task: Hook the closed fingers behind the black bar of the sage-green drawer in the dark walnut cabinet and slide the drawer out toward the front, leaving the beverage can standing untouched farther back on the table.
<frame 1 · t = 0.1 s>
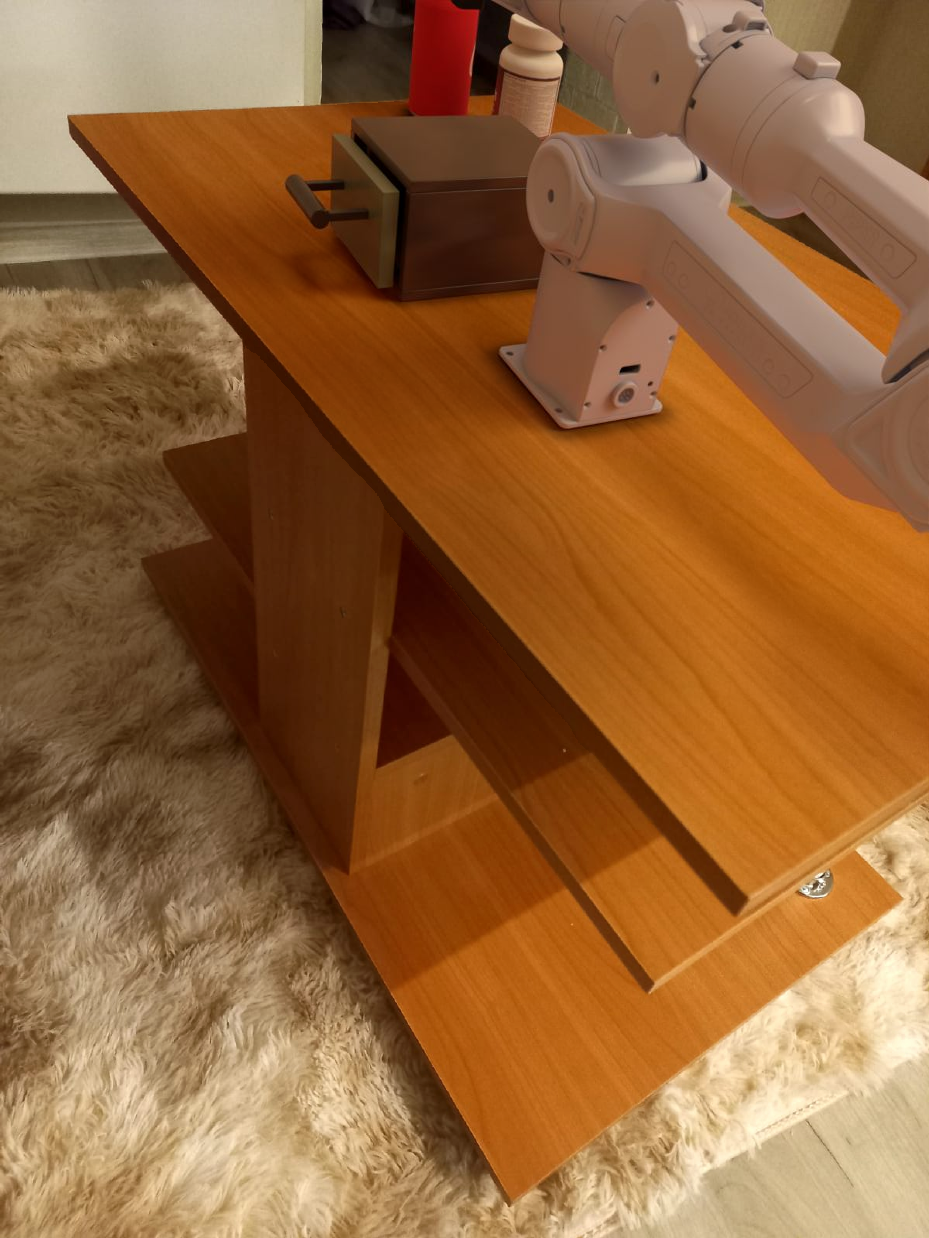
cabinet: (451, 258, 70), on the table
pill bottle: (516, 152, 89), on the table
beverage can: (436, 120, 92), on the table
drawer: (405, 207, 65), point 4 cm above the table, slide at 0.5 cm
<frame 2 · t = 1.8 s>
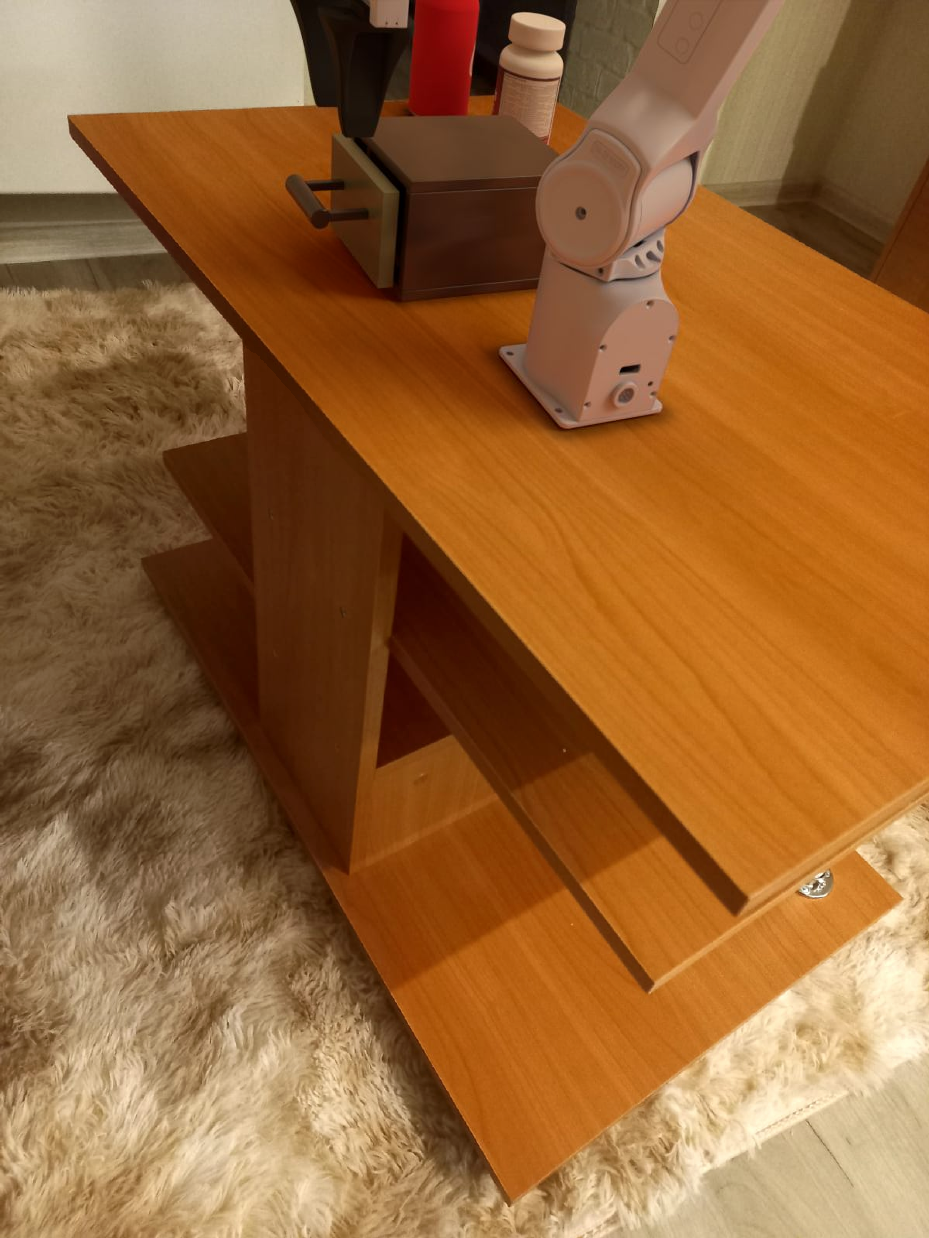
hand: (343, 120, 59), 10 cm above the table, tool pointing down, fingers open, 5 cm apart
nothing on the table moved.
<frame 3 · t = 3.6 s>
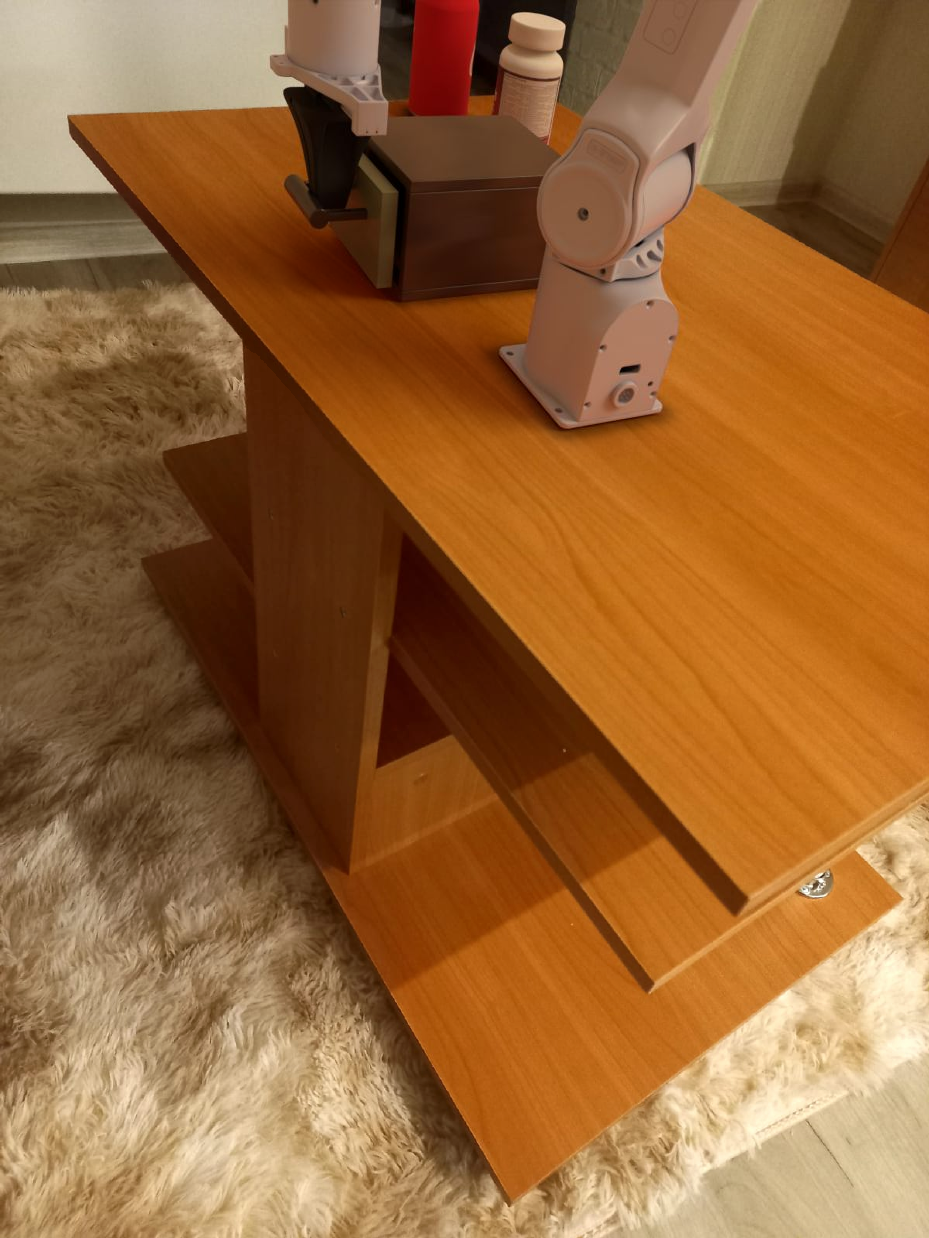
hand: (329, 205, 63), 5 cm above the table, tool pointing down, fingers closed, pressing on drawer
drawer: (404, 207, 65), point 4 cm above the table, slide at 0.6 cm, touching gripper
everything else where it was.
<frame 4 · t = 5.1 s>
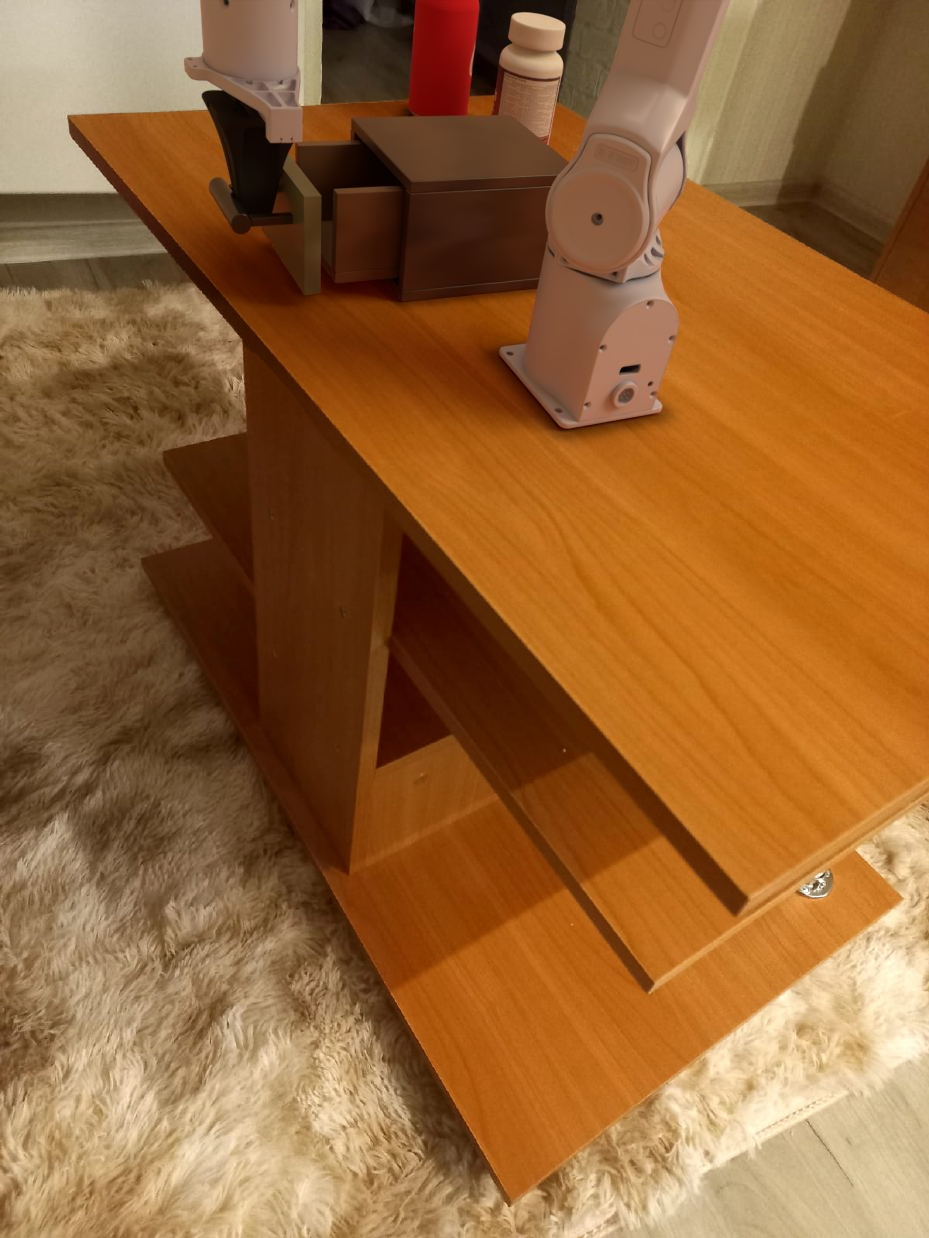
hand: (254, 212, 61), 4 cm above the table, tool pointing down, fingers closed, pressing on drawer
drawer: (335, 211, 63), point 4 cm above the table, slide at 6.0 cm, touching gripper
everything else where it was.
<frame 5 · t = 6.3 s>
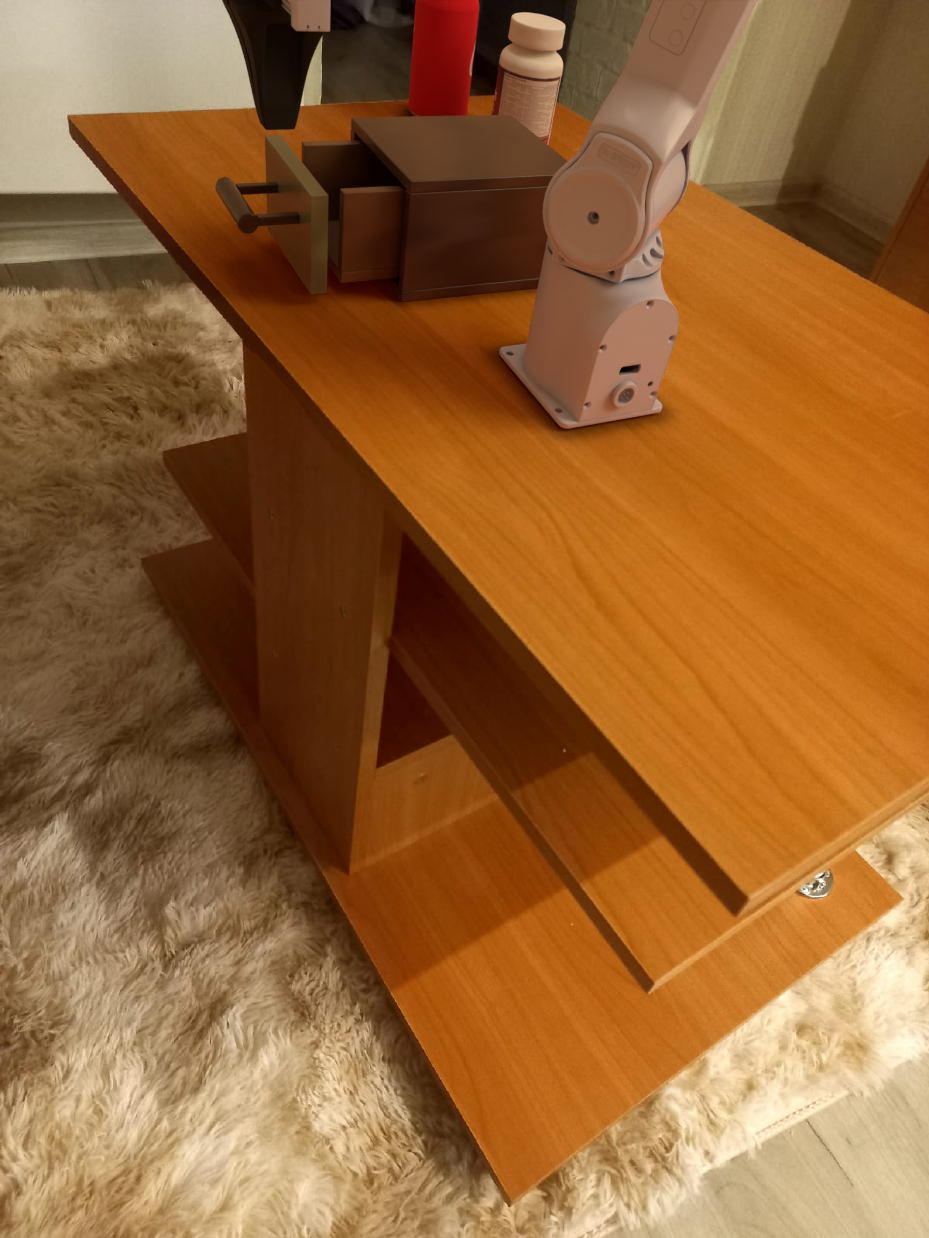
hand: (277, 126, 58), 10 cm above the table, tool pointing down, fingers closed
drawer: (342, 211, 64), point 4 cm above the table, slide at 5.6 cm
everything else where it was.
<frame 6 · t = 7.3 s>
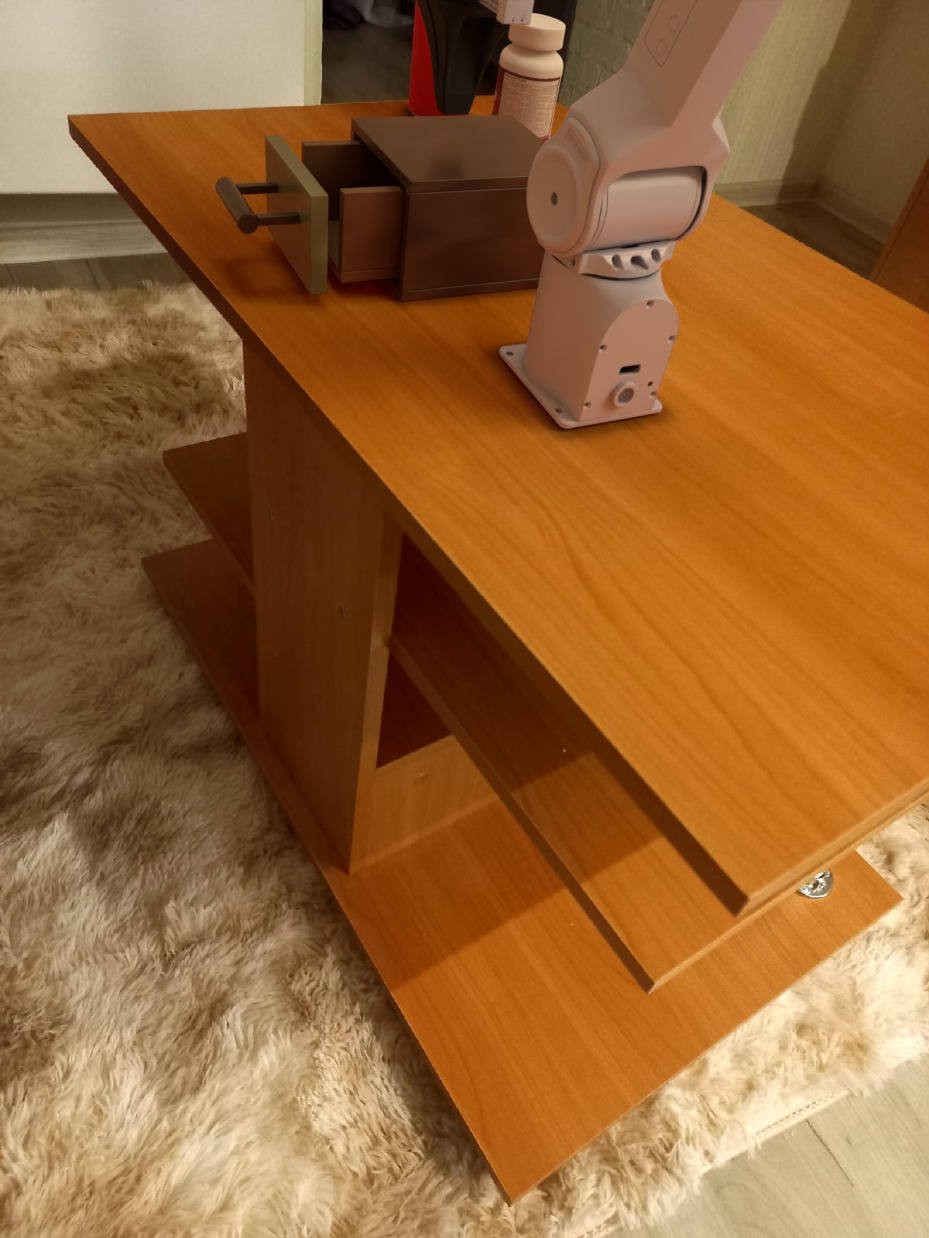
hand: (452, 111, 63), 10 cm above the table, tool pointing down, fingers closed
nothing on the table moved.
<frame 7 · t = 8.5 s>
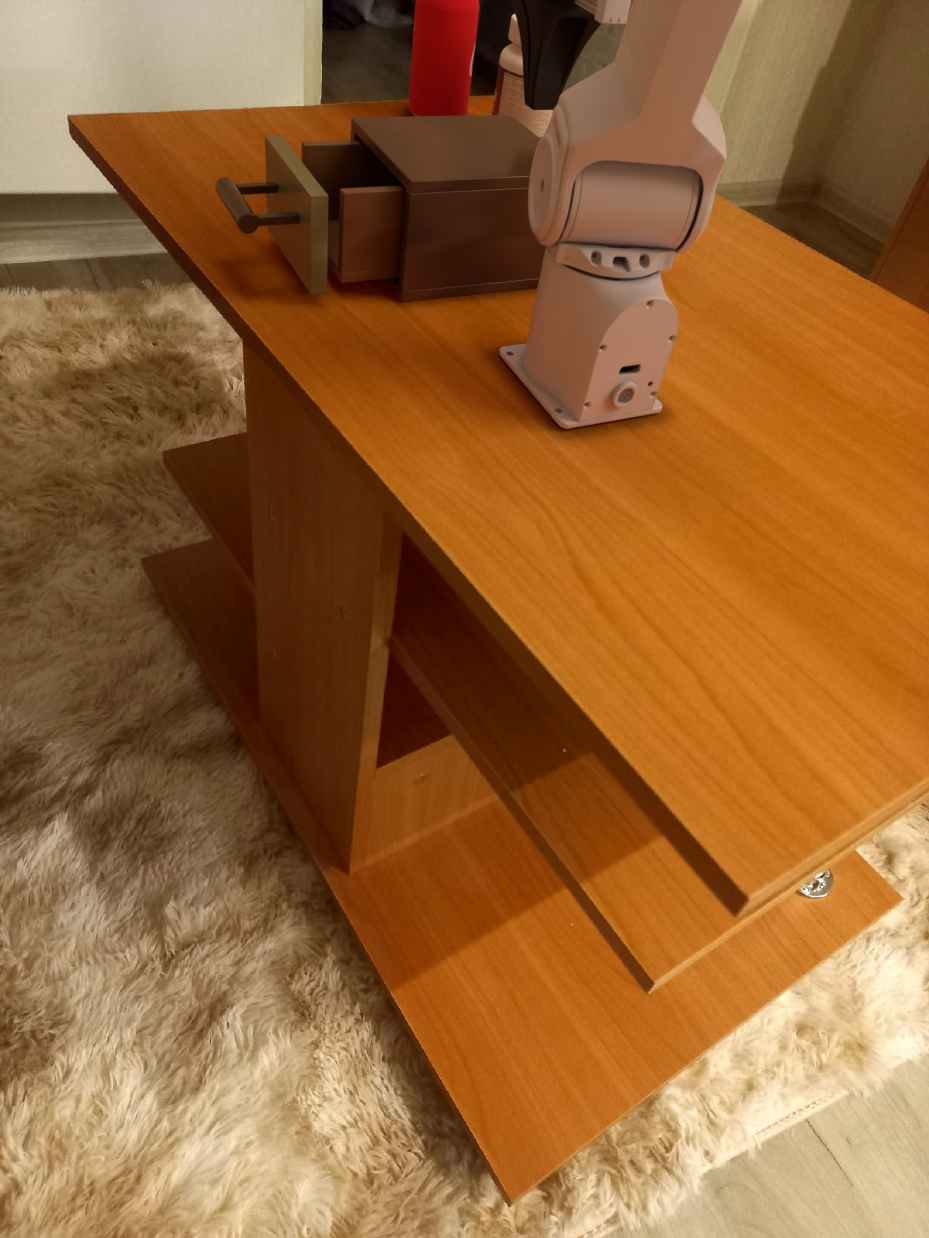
hand: (539, 107, 66), 10 cm above the table, tool pointing down, fingers closed
nothing on the table moved.
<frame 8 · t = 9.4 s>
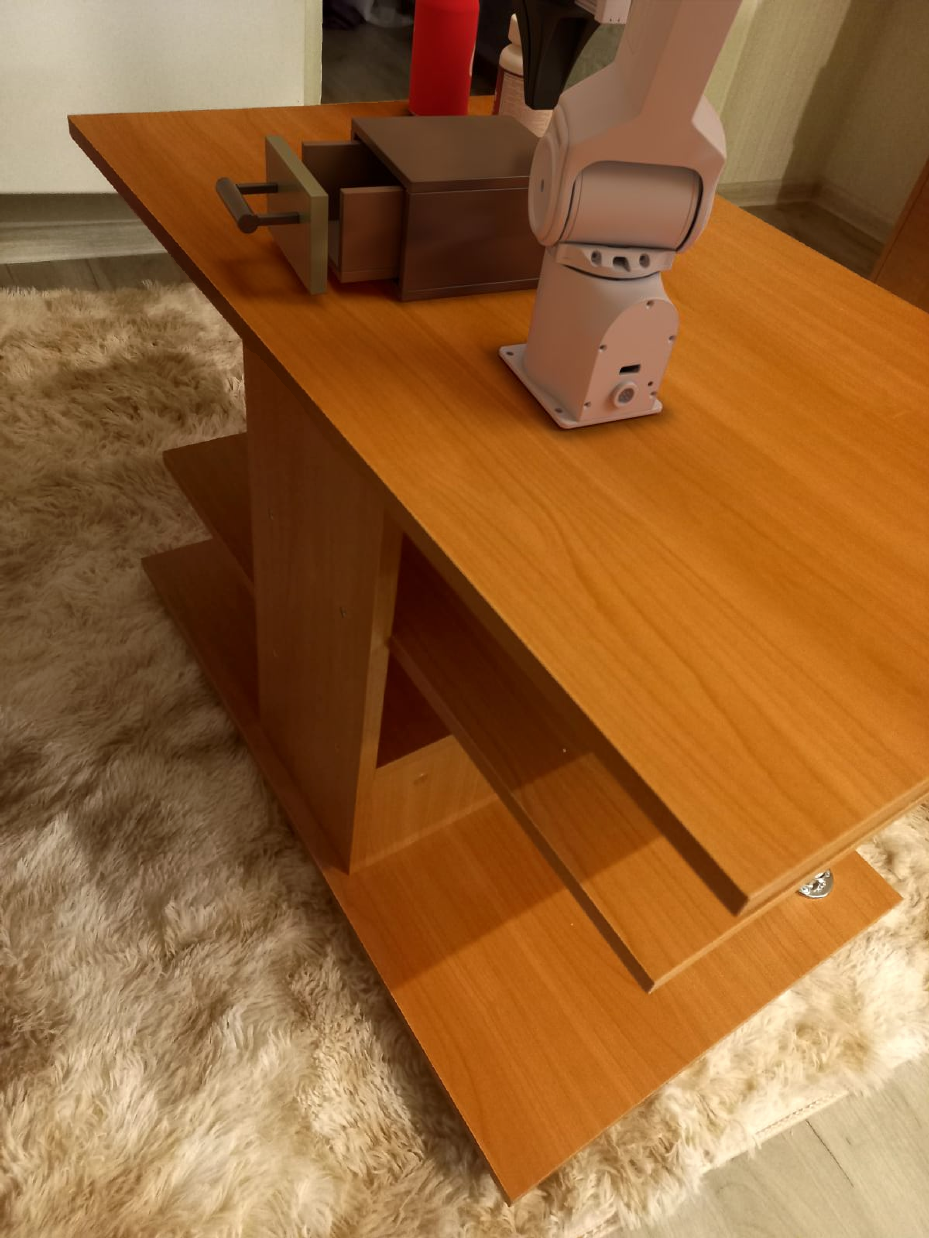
hand: (539, 107, 66), 10 cm above the table, tool pointing down, fingers closed
nothing on the table moved.
at the end: drawer slide at 5.6 cm; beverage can moved 0.2 cm from its start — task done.
